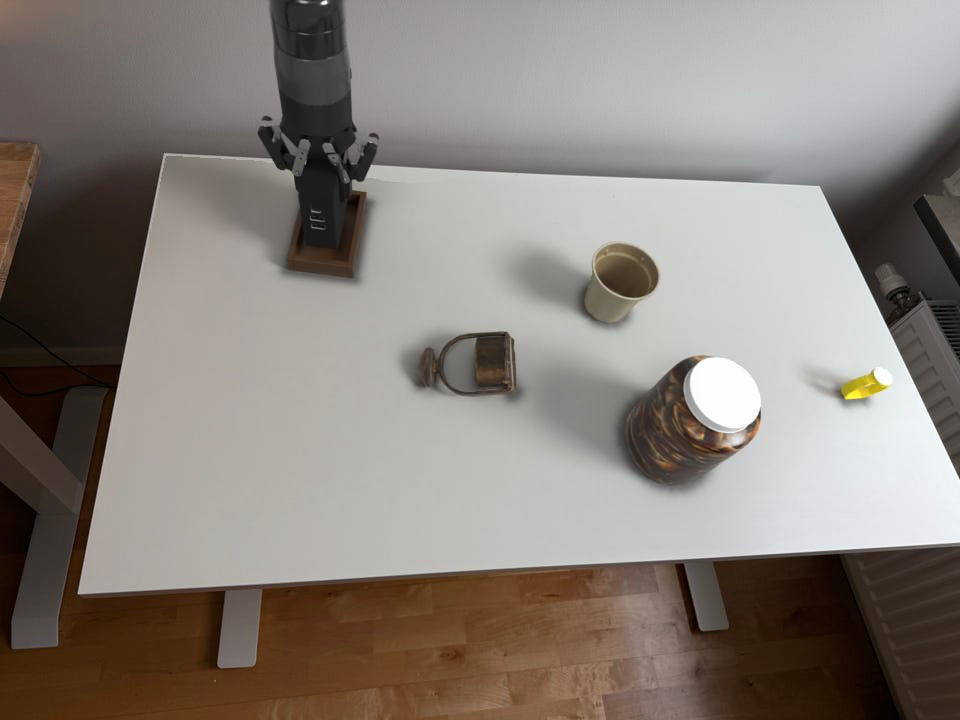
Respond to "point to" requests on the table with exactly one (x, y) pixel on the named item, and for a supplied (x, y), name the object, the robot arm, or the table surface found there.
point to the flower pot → (620, 280)
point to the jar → (693, 419)
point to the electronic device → (321, 204)
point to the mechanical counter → (478, 363)
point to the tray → (325, 258)
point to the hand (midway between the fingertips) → (324, 194)
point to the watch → (875, 380)
